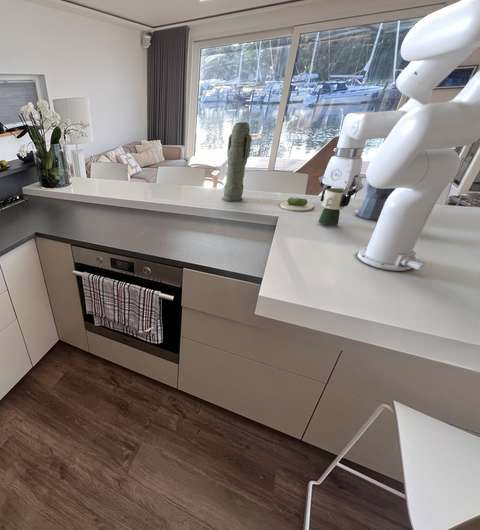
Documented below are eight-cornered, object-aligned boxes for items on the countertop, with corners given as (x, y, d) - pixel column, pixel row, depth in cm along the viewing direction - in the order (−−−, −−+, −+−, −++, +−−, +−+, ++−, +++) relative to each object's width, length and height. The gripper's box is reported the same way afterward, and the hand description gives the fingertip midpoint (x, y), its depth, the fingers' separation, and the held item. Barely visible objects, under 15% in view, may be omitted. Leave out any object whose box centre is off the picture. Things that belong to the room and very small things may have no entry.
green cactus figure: (236, 203, 139) (247, 123, 122) (217, 198, 148) (224, 123, 131) (248, 199, 143) (259, 121, 126) (228, 195, 152) (236, 122, 135)
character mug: (325, 218, 115) (335, 185, 109) (345, 223, 110) (356, 189, 104) (310, 224, 111) (318, 191, 105) (329, 229, 105) (340, 195, 99)
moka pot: (371, 210, 119) (390, 160, 110) (399, 223, 106) (423, 168, 96) (347, 211, 121) (363, 161, 111) (371, 224, 107) (392, 169, 98)
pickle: (307, 205, 128) (309, 198, 126) (305, 207, 126) (307, 200, 125) (287, 202, 133) (289, 196, 131) (285, 204, 131) (287, 197, 130)
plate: (320, 208, 126) (320, 206, 125) (295, 213, 123) (296, 211, 123) (296, 200, 137) (296, 198, 136) (273, 204, 134) (273, 203, 134)
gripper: (317, 151, 105) (305, 199, 113) (365, 157, 90) (348, 211, 98) (333, 149, 106) (321, 196, 115) (383, 154, 91) (364, 208, 100)
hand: (333, 203), depth 106 cm, fingers closed on character mug, 7 cm apart
